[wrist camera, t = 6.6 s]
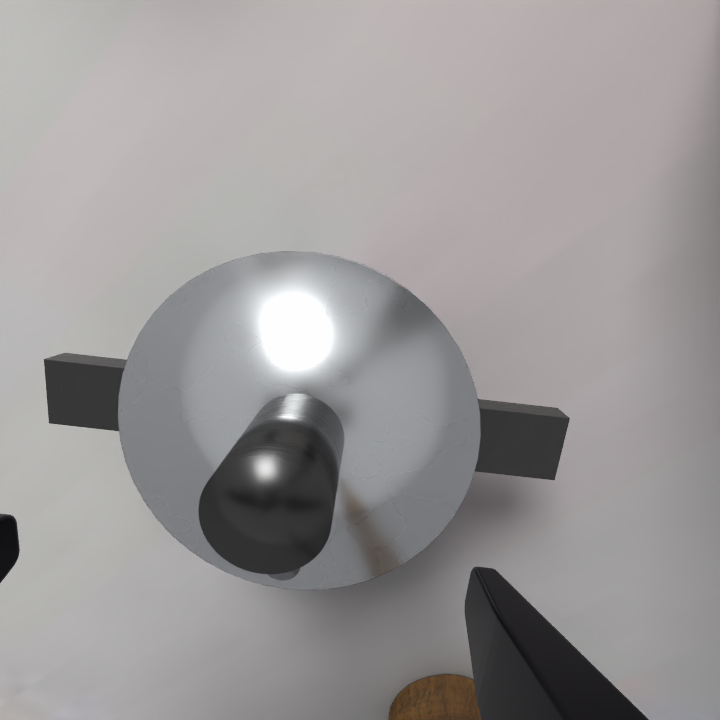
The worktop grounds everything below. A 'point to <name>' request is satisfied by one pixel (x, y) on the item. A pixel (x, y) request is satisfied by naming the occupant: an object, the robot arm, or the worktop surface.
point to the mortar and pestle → (437, 700)
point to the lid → (299, 420)
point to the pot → (497, 419)
